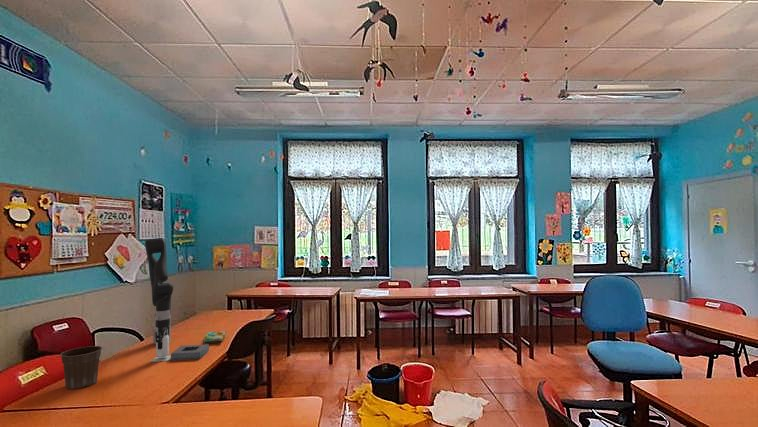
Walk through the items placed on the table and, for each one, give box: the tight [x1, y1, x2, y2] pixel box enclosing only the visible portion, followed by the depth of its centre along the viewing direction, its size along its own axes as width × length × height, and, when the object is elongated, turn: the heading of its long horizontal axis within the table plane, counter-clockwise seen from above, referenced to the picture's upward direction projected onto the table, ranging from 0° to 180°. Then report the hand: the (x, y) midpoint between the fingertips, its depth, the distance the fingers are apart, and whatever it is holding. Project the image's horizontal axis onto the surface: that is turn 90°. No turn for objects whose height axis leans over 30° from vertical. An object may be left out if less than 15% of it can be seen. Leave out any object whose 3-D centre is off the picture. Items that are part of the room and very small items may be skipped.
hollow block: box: [170, 343, 210, 362], centre depth 234 cm, size 16×16×4 cm
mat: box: [150, 355, 171, 363], centre depth 228 cm, size 9×9×1 cm
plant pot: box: [59, 345, 103, 390], centre depth 191 cm, size 16×16×16 cm
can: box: [155, 334, 170, 357], centre depth 229 cm, size 6×6×12 cm
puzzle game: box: [201, 330, 227, 345], centre depth 266 cm, size 12×5×20 cm
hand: (162, 347), depth 229 cm, fingers closed on can, 6 cm apart
